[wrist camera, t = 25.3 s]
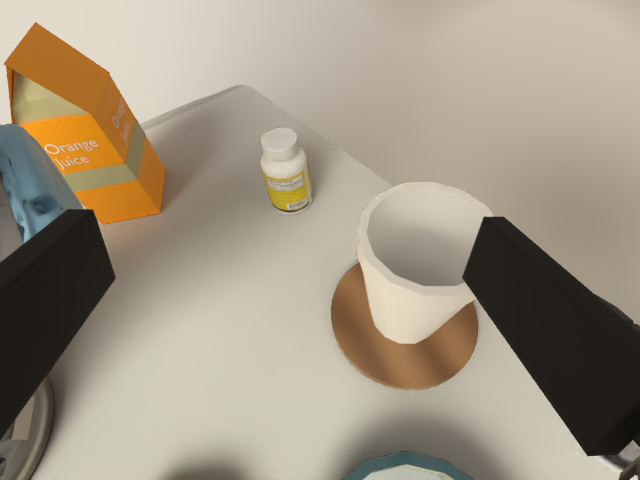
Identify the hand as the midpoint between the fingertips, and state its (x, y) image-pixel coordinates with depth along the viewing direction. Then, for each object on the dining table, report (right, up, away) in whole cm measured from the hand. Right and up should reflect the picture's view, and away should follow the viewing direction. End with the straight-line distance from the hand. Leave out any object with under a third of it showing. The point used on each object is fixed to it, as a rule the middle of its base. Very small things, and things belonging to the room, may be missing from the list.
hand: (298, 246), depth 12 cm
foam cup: (+9, -7, +21) cm, 24 cm away
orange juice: (-25, +6, +35) cm, 43 cm away
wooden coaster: (+9, -7, +22) cm, 24 cm away
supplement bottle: (-3, +5, +32) cm, 32 cm away
